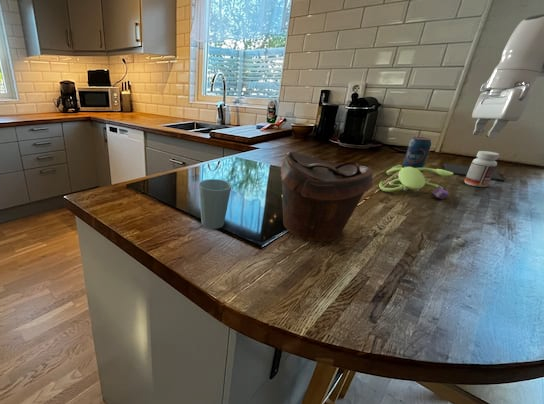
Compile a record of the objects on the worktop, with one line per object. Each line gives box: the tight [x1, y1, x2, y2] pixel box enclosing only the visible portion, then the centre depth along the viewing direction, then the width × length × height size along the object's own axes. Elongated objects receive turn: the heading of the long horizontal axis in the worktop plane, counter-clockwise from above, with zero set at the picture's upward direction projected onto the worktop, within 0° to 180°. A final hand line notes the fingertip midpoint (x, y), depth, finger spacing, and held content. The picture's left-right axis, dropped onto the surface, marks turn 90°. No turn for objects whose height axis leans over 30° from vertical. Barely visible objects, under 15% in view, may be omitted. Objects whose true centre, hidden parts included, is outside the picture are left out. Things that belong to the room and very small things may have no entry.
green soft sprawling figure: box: [378, 164, 455, 200], centre depth 99 cm, size 18×27×6 cm
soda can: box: [402, 136, 432, 168], centre depth 120 cm, size 7×7×12 cm
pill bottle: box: [463, 150, 500, 188], centre depth 102 cm, size 6×6×11 cm
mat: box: [443, 163, 505, 182], centre depth 117 cm, size 16×14×1 cm
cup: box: [198, 178, 232, 230], centre depth 72 cm, size 8×8×10 cm
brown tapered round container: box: [279, 150, 374, 242], centre depth 68 cm, size 18×20×18 cm
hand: (483, 136), depth 83 cm, fingers open, 8 cm apart
